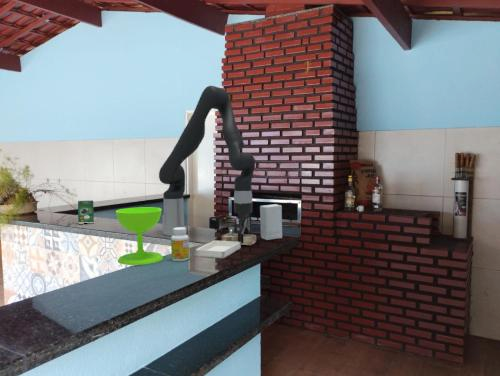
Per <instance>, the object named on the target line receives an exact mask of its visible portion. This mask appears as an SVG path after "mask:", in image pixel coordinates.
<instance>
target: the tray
mask: <svg viewBox="0 0 500 376" xmlns="http://www.w3.org/2000/svg"><path fill="white" fill-rule="evenodd" d="M240 249H242V245H241V242H234V241H222V240H216V239H214V240H212V241H210V242H208V243H206V244H204V245H201V246H200V247H198V248H195V249H194V257H199V258H209V259H210V258H211V259H225V258H227V257H229V256H231V255H232V254H233V253H236V251H239V250H240Z"/></svg>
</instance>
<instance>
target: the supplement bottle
mask: <svg viewBox="0 0 500 376" xmlns="http://www.w3.org/2000/svg"><path fill="white" fill-rule="evenodd" d="M173 233H174V235H173V236H171V237H170V243H171V244H170V245H171V246H170V247H171V248H170V249H171V260H172V261H173V262H183V261H188V260H189V259H190V243H189V241H190V238H189V235H188V234H186V233H187V227H185V226H184V227H177V228H173Z"/></svg>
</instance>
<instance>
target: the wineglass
mask: <svg viewBox="0 0 500 376" xmlns="http://www.w3.org/2000/svg"><path fill="white" fill-rule="evenodd" d="M162 210H163V209H162V208H161V207H155V206H154V207H153V206H152V207H150V206H149V207H148V206H147V207H145V206H143V207H141V206H140V207H128V208H119V209H116V211H115V215H116V218H117V221H118V223H119V224H120V225H121V226H122V227H123V228H125V229H126V230H128V231H130V232H133V233H136V236H137V237H136V239H137V242H136V243H137V250H136V251H135V252H131V253H126V254H123V255H122V256H120V257H119V258H118V259H117V263H119V264H121V265H125V266H142V265H150V264H155V263H158V262H161V261H162V260H163V259H164V256H163V255H162V254H161V253H159V252H156V251H146V250H144V240H143V239H144V238H143V237H144V235H143V233H144V232H148V231H150V230H152V229H153V228H154V227H155V226H156V225H157V224H158V222H159V221H160V219H161V217H162Z"/></svg>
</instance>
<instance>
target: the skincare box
mask: <svg viewBox="0 0 500 376" xmlns="http://www.w3.org/2000/svg"><path fill="white" fill-rule="evenodd" d="M282 209H283V207H282V205H281V204H277V203H275V204H267V205H266V204H264V205H260V206H259V217H260V221H259V222H260V238H261V239H263V240H266V241H268V240H269V241H271V240H275V239H276V240H277V239H283V216H282V215H283V214H282V213H283V211H282Z"/></svg>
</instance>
